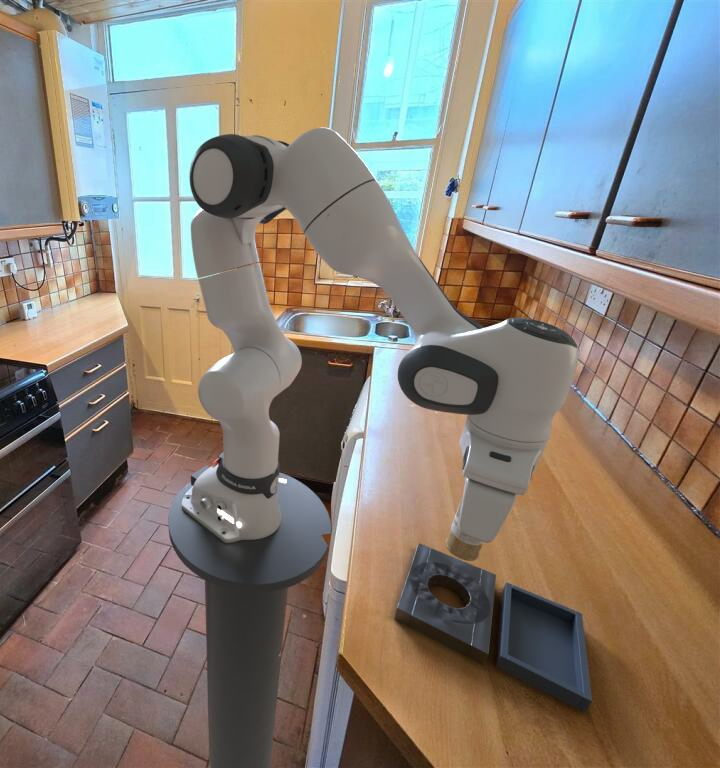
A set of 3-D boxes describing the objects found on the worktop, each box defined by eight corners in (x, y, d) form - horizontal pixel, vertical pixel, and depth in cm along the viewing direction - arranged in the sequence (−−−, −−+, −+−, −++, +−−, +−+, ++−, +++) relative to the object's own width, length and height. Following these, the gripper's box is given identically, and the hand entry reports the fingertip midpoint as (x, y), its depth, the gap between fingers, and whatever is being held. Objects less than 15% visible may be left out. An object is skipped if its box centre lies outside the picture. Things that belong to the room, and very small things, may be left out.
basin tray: (495, 666, 57) (500, 655, 56) (501, 592, 68) (506, 581, 67) (584, 712, 52) (592, 701, 51) (576, 624, 63) (582, 613, 61)
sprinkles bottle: (446, 534, 64) (470, 465, 59) (480, 547, 62) (507, 477, 56) (442, 553, 61) (466, 482, 55) (477, 568, 59) (506, 495, 53)
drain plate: (394, 618, 64) (397, 607, 63) (415, 552, 75) (418, 542, 74) (483, 665, 57) (488, 654, 56) (492, 585, 69) (496, 574, 68)
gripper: (480, 405, 63) (457, 477, 69) (463, 472, 48) (435, 557, 54) (530, 417, 59) (501, 491, 65) (529, 493, 44) (492, 581, 50)
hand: (471, 522), depth 59 cm, fingers closed on sprinkles bottle, 4 cm apart
